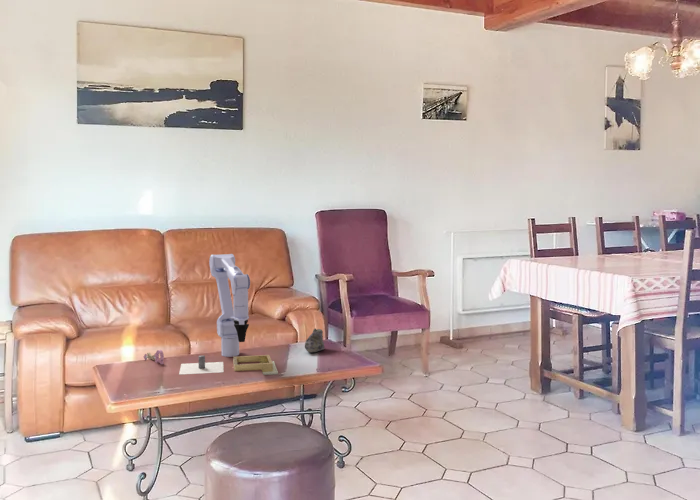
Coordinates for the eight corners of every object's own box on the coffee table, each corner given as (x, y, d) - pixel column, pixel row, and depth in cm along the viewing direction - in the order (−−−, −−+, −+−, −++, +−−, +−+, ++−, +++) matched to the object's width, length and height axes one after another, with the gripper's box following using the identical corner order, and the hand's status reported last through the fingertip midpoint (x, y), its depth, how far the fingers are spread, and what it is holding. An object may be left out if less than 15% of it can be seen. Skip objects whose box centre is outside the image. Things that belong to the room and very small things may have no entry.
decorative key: (145, 365, 269) (164, 367, 253) (142, 366, 268) (161, 367, 253) (143, 349, 269) (163, 349, 254) (141, 349, 268) (160, 350, 253)
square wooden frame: (233, 364, 257) (233, 356, 257) (269, 362, 260) (269, 354, 260) (234, 373, 244) (234, 365, 243) (272, 371, 247) (272, 363, 246)
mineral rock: (307, 356, 274) (307, 332, 273) (293, 351, 283) (293, 328, 282) (332, 351, 282) (332, 328, 281) (318, 347, 290) (318, 325, 290)
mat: (228, 364, 259) (228, 363, 259) (273, 362, 262) (273, 361, 262) (229, 376, 241) (229, 375, 241) (277, 374, 245) (277, 372, 245)
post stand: (181, 367, 254) (181, 352, 254) (223, 365, 257) (223, 350, 257) (179, 378, 239) (178, 362, 238) (223, 376, 242) (223, 360, 241)
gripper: (230, 303, 261) (230, 337, 262) (230, 308, 247) (231, 344, 248) (247, 302, 263) (248, 336, 263) (249, 307, 248) (250, 343, 249)
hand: (241, 340), depth 256 cm, fingers open, 7 cm apart
